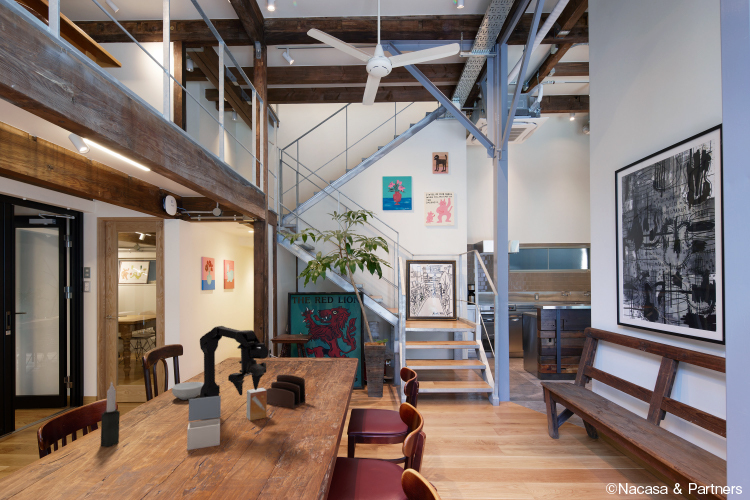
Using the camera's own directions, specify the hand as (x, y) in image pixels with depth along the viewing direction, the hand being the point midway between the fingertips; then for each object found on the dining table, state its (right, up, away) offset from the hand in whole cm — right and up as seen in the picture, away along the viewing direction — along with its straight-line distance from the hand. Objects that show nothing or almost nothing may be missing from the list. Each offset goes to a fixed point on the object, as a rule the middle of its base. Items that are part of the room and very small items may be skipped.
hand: (248, 392), depth 181 cm
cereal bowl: (-48, -19, +42) cm, 66 cm away
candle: (-51, -14, -20) cm, 56 cm away
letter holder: (+10, -17, +30) cm, 36 cm away
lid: (-14, -1, -15) cm, 20 cm away
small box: (+1, -16, +9) cm, 18 cm away
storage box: (-12, -14, -20) cm, 27 cm away
